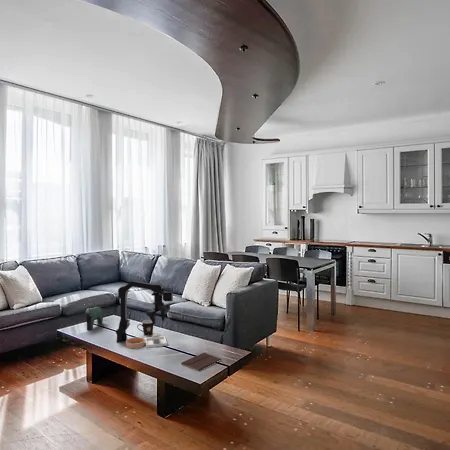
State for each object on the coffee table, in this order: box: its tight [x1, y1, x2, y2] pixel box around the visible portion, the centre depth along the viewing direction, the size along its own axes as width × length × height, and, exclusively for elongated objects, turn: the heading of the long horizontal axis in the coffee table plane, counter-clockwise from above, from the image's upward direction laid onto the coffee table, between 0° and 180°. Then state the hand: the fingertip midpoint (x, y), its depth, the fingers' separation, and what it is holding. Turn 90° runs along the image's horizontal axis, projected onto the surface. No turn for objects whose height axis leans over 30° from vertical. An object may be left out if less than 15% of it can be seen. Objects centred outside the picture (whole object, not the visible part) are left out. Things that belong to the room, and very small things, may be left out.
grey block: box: [153, 337, 159, 344], centre depth 254 cm, size 4×5×4 cm
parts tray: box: [144, 335, 168, 348], centre depth 257 cm, size 14×15×2 cm
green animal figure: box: [84, 302, 104, 331], centre depth 295 cm, size 20×6×20 cm, turn 167°
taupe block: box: [151, 333, 159, 341], centre depth 260 cm, size 4×5×4 cm
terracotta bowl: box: [125, 336, 146, 349], centre depth 253 cm, size 13×13×4 cm
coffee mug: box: [136, 319, 155, 336], centre depth 275 cm, size 12×9×10 cm
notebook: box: [180, 352, 222, 372], centre depth 225 cm, size 15×20×2 cm
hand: (158, 322), depth 262 cm, fingers open, 9 cm apart
